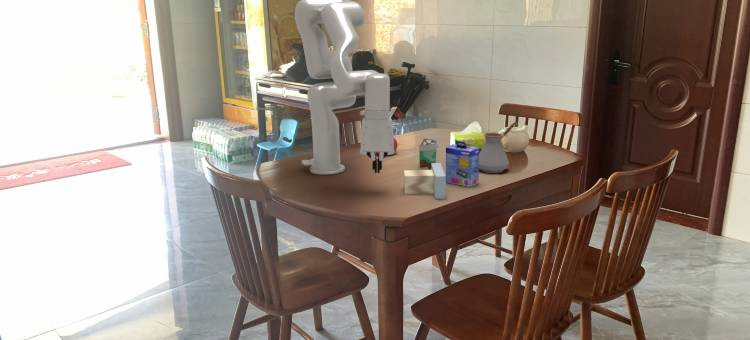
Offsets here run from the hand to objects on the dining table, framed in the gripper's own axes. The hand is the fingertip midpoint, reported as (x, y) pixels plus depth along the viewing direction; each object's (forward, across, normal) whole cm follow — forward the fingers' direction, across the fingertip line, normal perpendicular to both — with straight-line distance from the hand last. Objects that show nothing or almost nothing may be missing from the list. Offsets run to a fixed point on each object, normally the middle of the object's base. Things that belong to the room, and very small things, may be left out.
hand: (377, 171), depth 182 cm
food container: (+7, +19, +26) cm, 33 cm away
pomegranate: (+8, +3, +50) cm, 51 cm away
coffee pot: (+6, +44, +26) cm, 51 cm away
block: (+6, +13, 0) cm, 15 cm away
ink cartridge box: (+6, +28, +7) cm, 29 cm away
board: (+6, +19, -1) cm, 20 cm away
